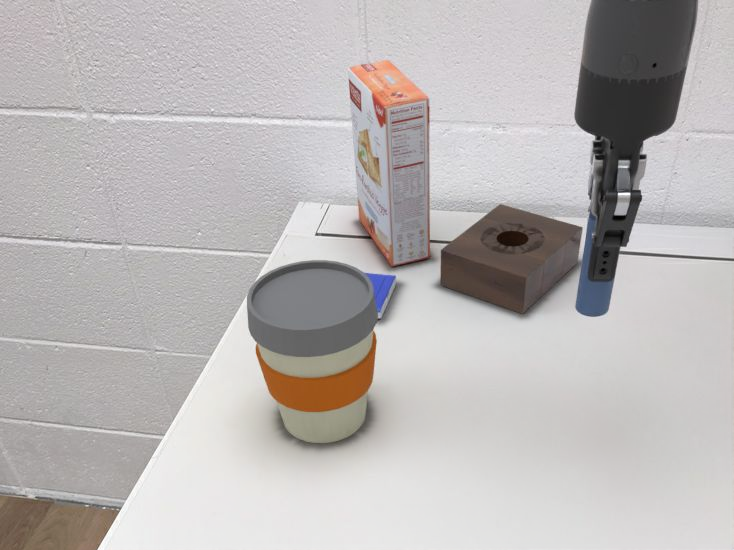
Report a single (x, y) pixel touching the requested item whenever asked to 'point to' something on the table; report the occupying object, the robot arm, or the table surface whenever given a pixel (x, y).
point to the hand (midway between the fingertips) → (598, 267)
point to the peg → (592, 283)
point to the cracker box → (391, 160)
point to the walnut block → (510, 257)
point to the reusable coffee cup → (316, 345)
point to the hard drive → (382, 290)
